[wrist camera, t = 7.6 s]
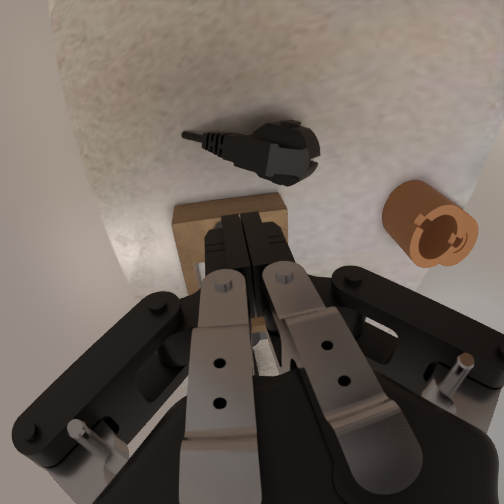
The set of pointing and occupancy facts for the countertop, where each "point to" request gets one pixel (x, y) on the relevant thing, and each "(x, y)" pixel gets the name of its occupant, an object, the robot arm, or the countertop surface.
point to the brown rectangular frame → (209, 217)
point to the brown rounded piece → (428, 225)
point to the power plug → (267, 150)
